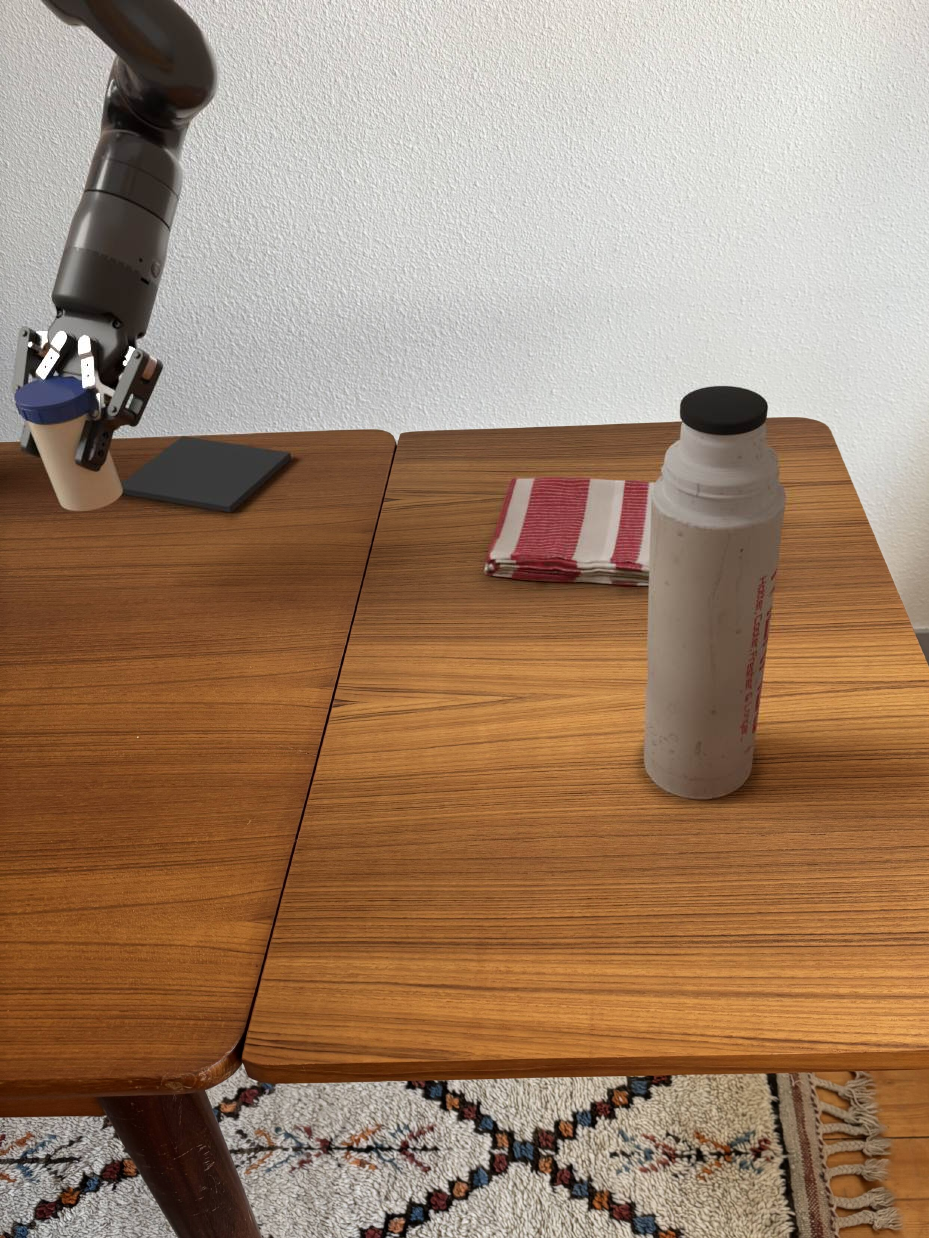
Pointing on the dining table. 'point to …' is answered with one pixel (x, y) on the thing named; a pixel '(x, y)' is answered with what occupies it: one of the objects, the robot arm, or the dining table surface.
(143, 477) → the mat
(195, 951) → the dining table surface
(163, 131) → the robot arm
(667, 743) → the thermos bottle
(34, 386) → the lid
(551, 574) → the dish towel
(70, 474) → the jar
